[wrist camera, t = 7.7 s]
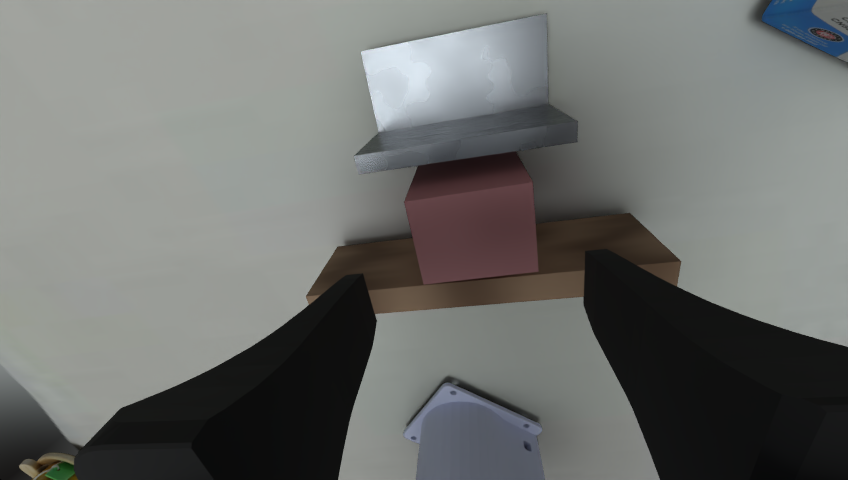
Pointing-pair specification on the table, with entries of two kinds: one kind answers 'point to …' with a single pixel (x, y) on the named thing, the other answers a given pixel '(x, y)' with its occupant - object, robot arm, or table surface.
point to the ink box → (813, 23)
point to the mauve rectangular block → (473, 218)
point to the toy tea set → (50, 467)
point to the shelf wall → (557, 278)
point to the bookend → (462, 97)
